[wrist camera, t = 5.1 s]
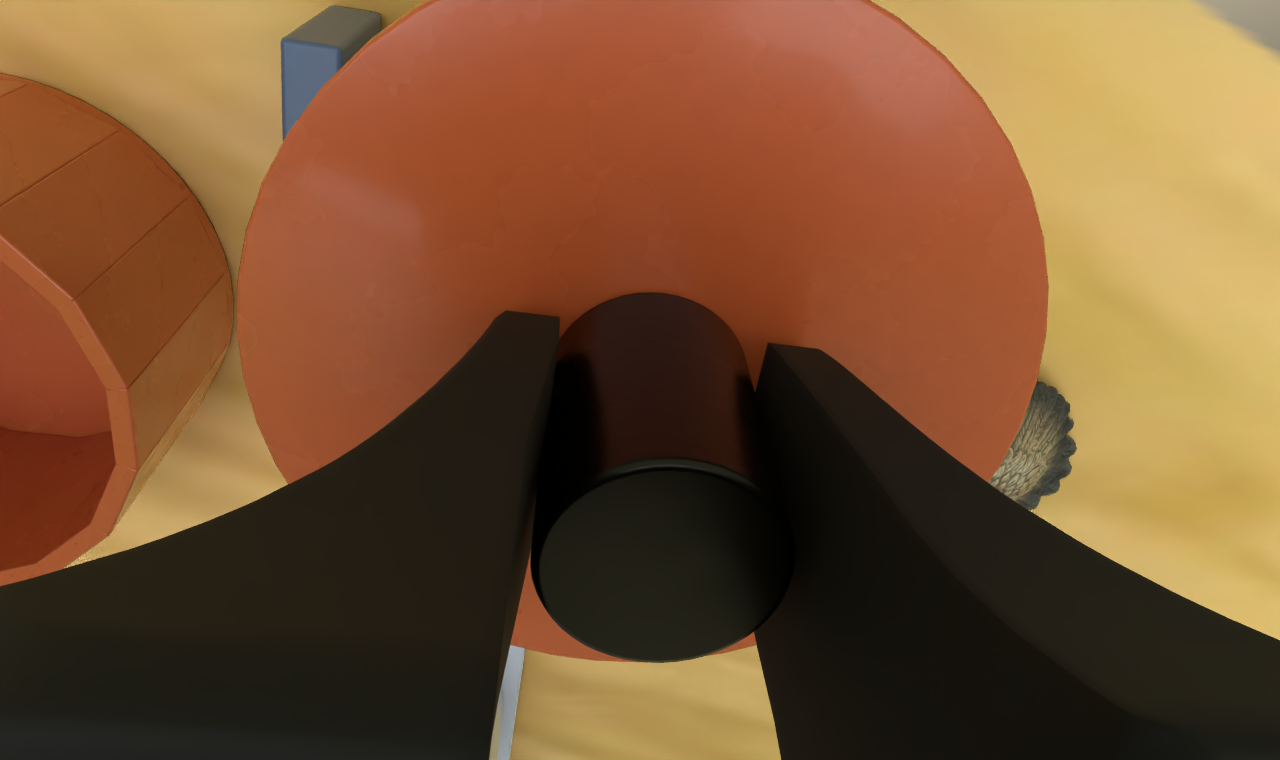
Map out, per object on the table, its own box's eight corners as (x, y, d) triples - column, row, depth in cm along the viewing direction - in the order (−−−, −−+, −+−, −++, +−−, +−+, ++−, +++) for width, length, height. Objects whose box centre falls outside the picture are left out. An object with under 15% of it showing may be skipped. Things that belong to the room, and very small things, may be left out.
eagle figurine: (687, 606, 25) (1020, 694, 25) (702, 667, 18) (1170, 791, 18) (757, 328, 26) (1084, 412, 25) (799, 281, 19) (1253, 396, 18)
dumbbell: (635, 53, 19) (641, 95, 16) (610, 212, 21) (612, 276, 18) (329, 4, 18) (278, 37, 15) (329, 172, 20) (283, 232, 17)
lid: (891, 634, 15) (990, 911, 11) (277, 579, 14) (157, 863, 10) (1139, 9, 11) (1454, 118, 7) (243, -143, 9) (-1, -119, 6)
